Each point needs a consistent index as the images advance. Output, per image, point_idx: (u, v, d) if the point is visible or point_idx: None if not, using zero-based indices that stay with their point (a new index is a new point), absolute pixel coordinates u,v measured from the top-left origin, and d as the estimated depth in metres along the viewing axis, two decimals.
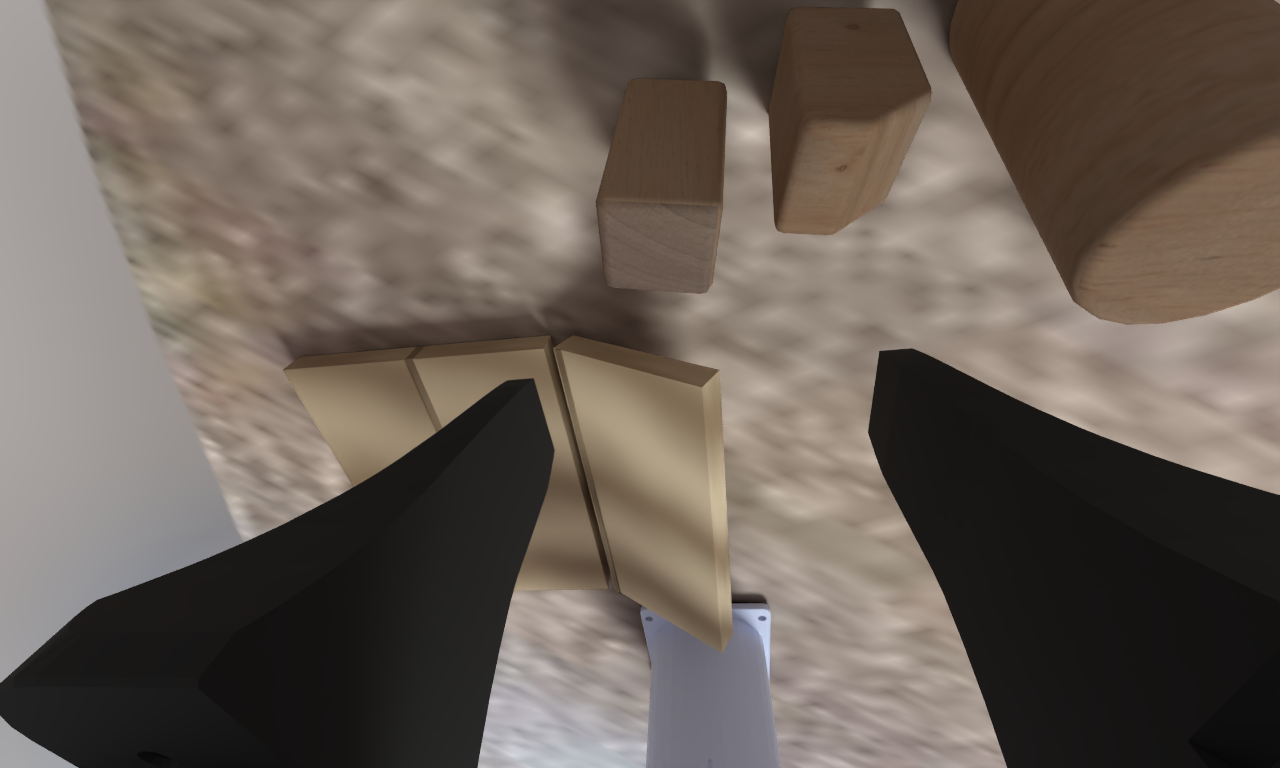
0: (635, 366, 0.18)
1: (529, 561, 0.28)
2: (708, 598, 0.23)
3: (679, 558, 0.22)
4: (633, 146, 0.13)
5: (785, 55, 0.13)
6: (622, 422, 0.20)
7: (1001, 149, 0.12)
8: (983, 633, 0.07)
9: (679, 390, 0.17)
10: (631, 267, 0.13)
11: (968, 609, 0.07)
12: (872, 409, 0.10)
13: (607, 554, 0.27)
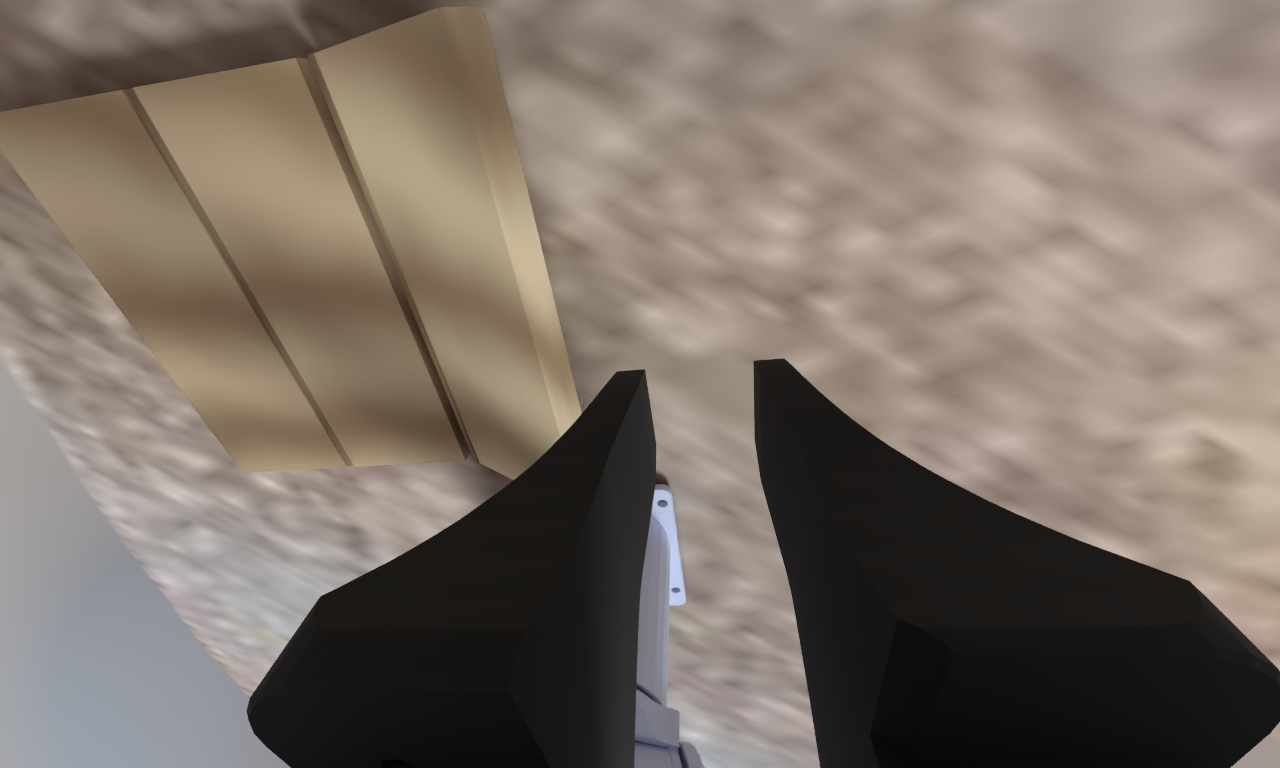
0: (381, 30, 0.13)
1: (362, 421, 0.22)
2: (548, 427, 0.17)
3: (508, 372, 0.17)
4: None
5: None
6: (397, 151, 0.14)
7: None
8: (805, 634, 0.07)
9: (423, 34, 0.11)
10: None
11: (800, 611, 0.08)
12: (754, 416, 0.10)
13: (451, 403, 0.21)
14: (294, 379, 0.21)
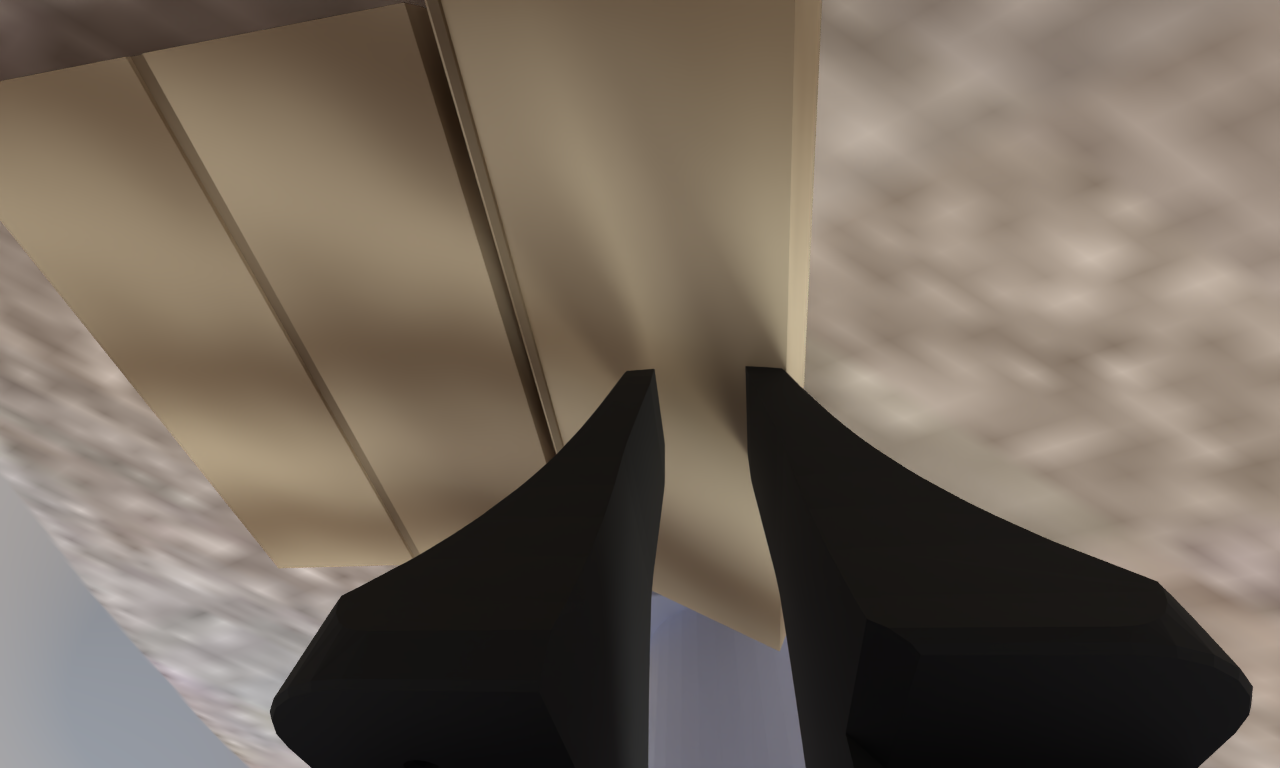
0: None
1: (444, 512, 0.17)
2: (761, 546, 0.12)
3: (705, 470, 0.12)
4: None
5: None
6: (580, 150, 0.09)
7: None
8: (791, 634, 0.07)
9: None
10: None
11: (787, 611, 0.08)
12: None
13: None
14: (357, 461, 0.16)
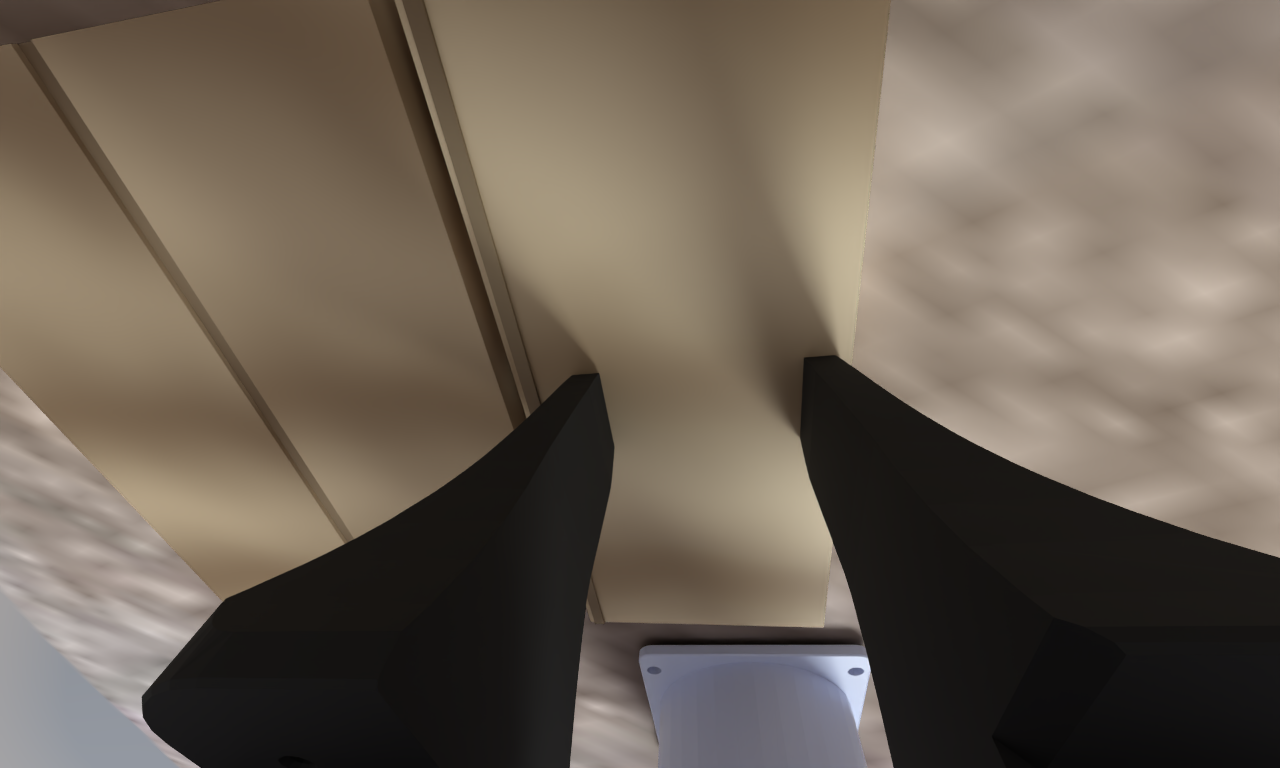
0: None
1: None
2: (812, 530, 0.12)
3: (755, 472, 0.11)
4: None
5: None
6: (624, 149, 0.08)
7: None
8: (875, 634, 0.07)
9: None
10: None
11: (866, 610, 0.07)
12: (801, 414, 0.10)
13: None
14: (326, 515, 0.14)
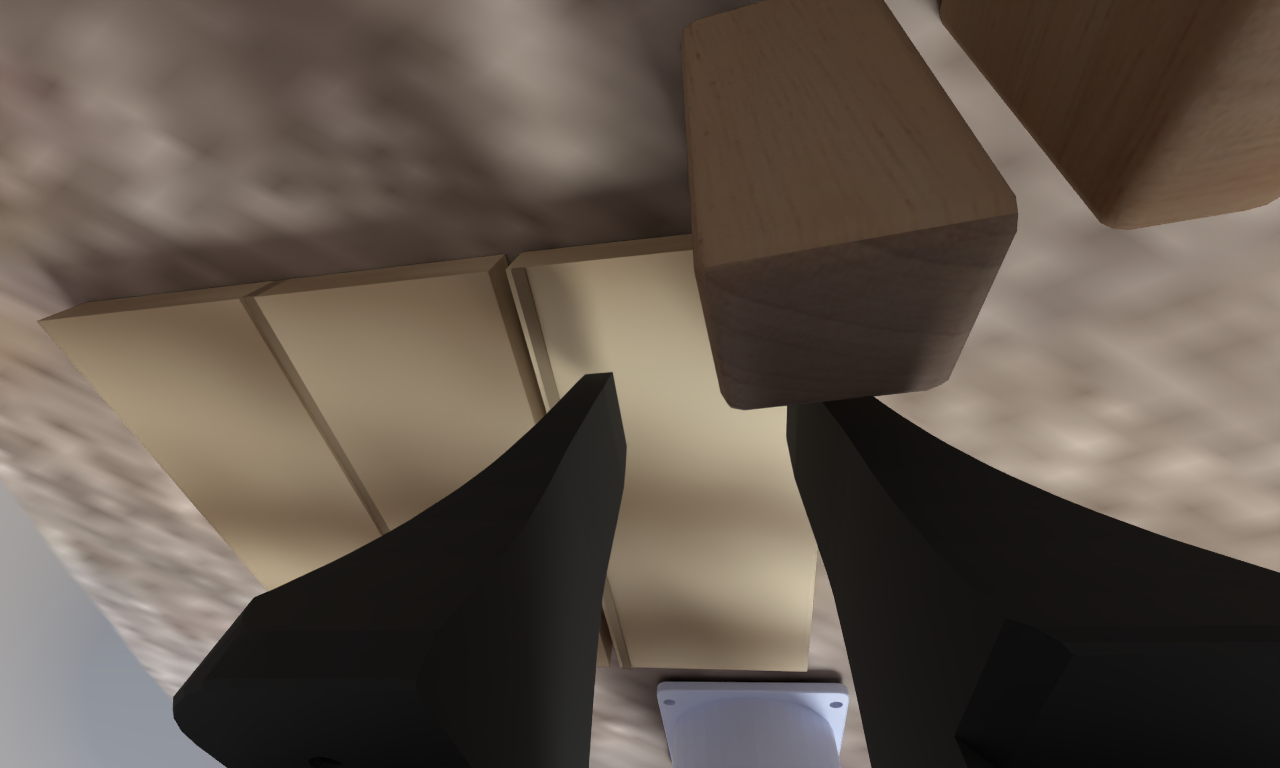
0: None
1: None
2: (796, 602, 0.16)
3: (752, 563, 0.15)
4: (738, 131, 0.06)
5: None
6: (661, 369, 0.12)
7: None
8: (854, 634, 0.07)
9: None
10: (782, 376, 0.06)
11: (846, 610, 0.07)
12: (787, 414, 0.10)
13: (611, 617, 0.17)
14: None
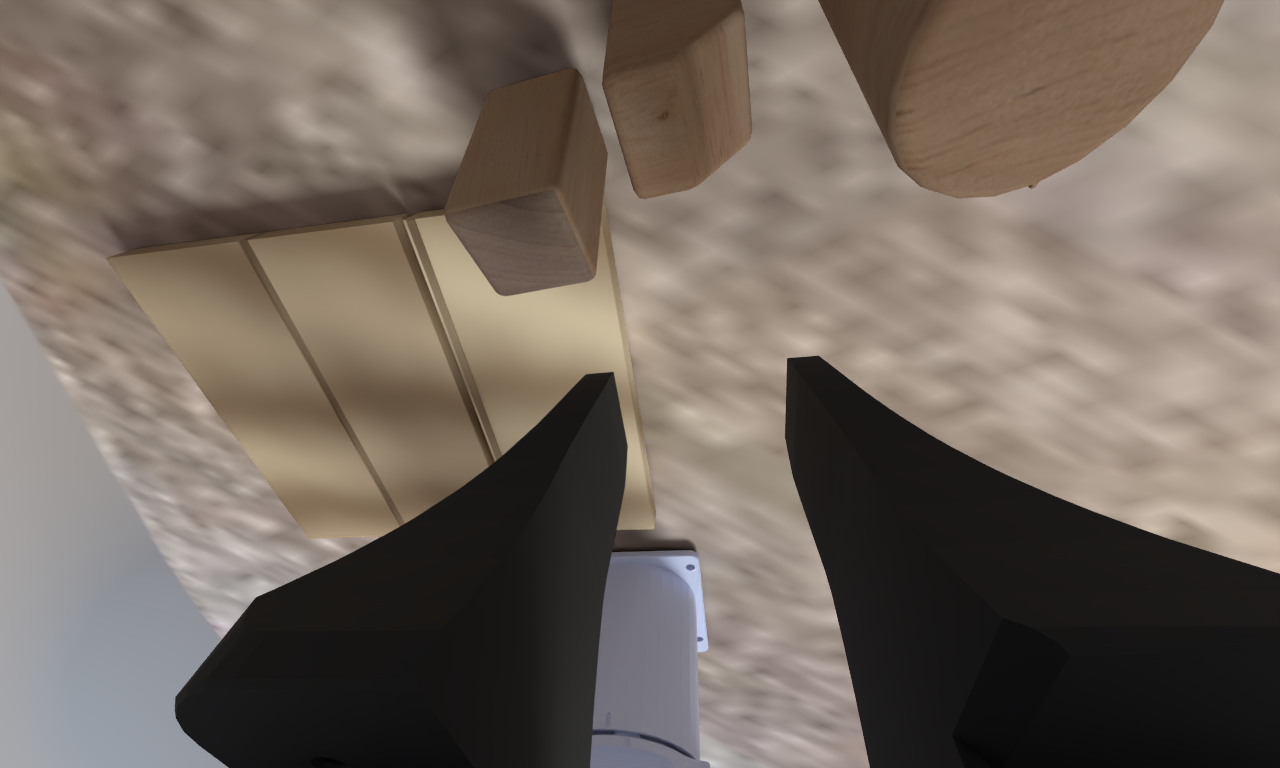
0: None
1: (423, 498, 0.25)
2: (632, 467, 0.22)
3: None
4: (480, 154, 0.13)
5: None
6: None
7: (840, 46, 0.10)
8: (852, 634, 0.07)
9: None
10: (508, 272, 0.13)
11: (845, 610, 0.07)
12: (786, 414, 0.10)
13: None
14: (364, 464, 0.24)
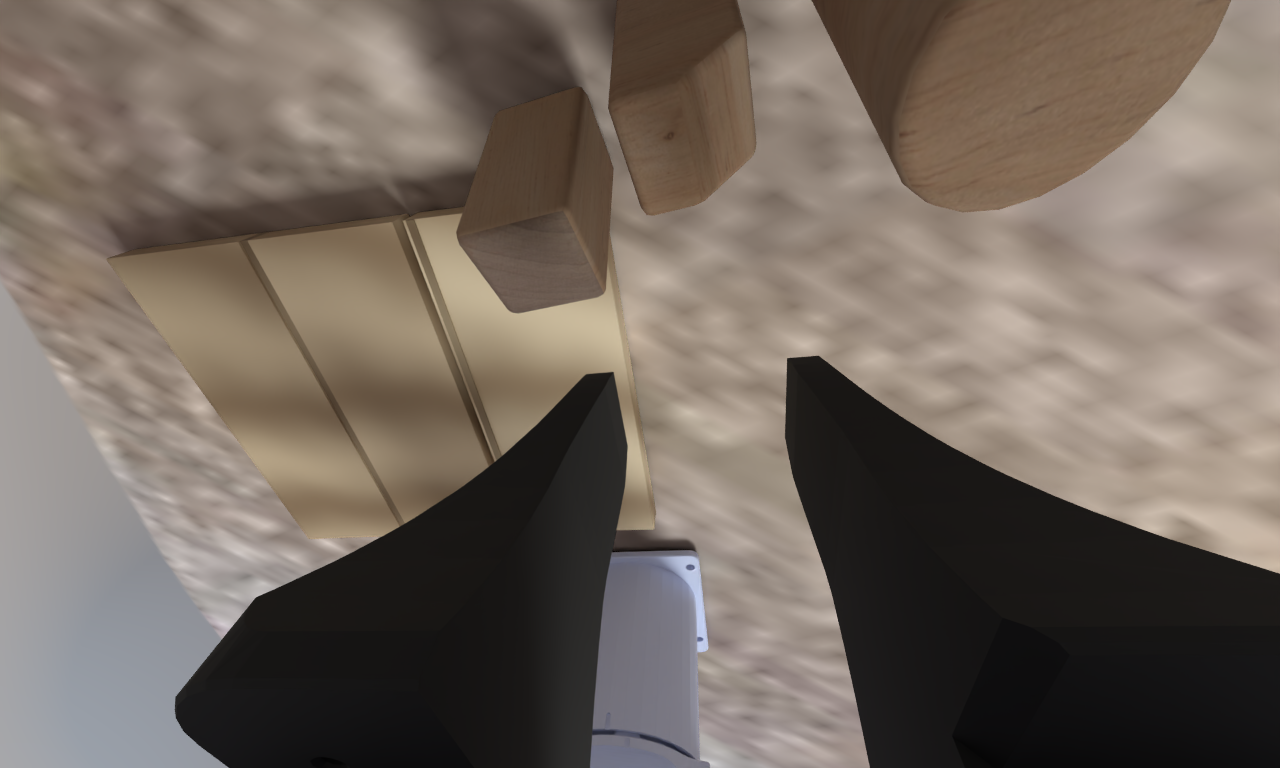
0: None
1: (423, 498, 0.25)
2: (632, 467, 0.22)
3: None
4: (489, 176, 0.13)
5: None
6: None
7: (842, 61, 0.11)
8: (853, 634, 0.07)
9: None
10: (520, 290, 0.13)
11: (845, 610, 0.07)
12: (786, 415, 0.10)
13: None
14: (364, 464, 0.24)
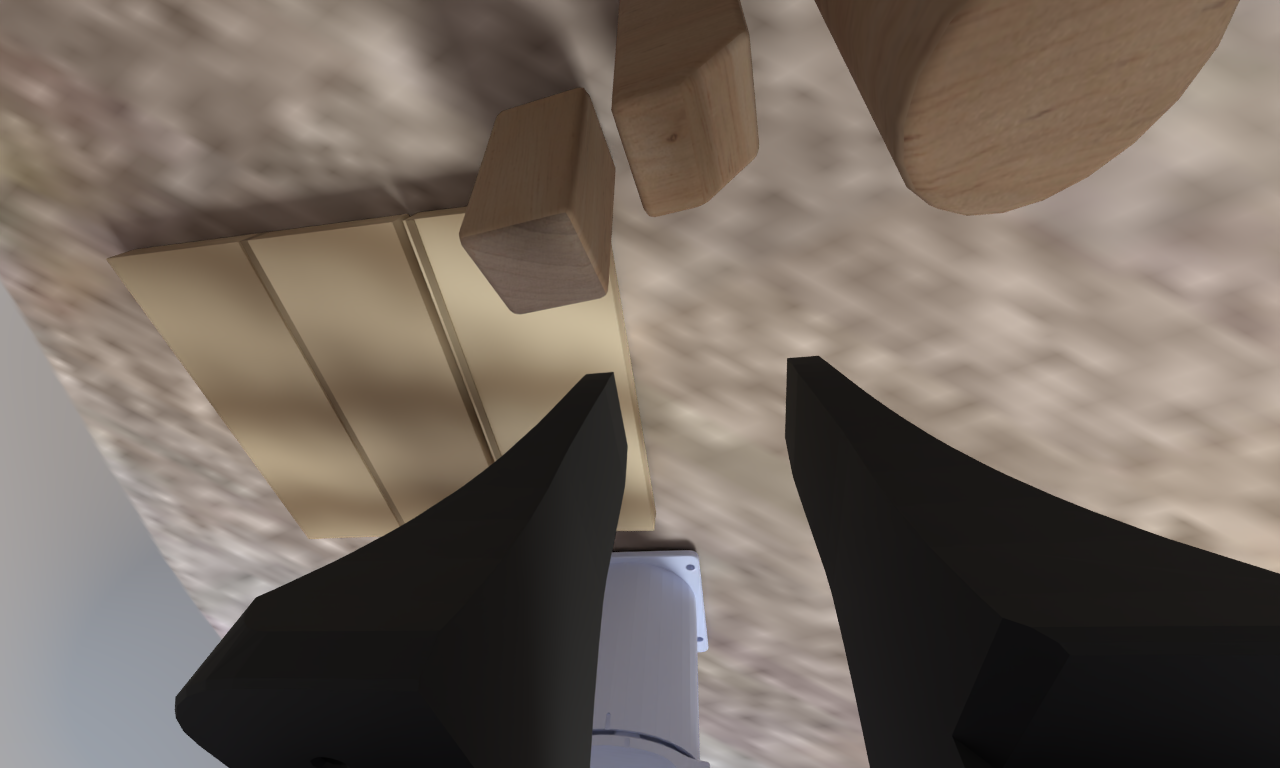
0: None
1: (423, 498, 0.25)
2: (632, 468, 0.22)
3: None
4: (491, 177, 0.13)
5: None
6: None
7: None
8: (853, 634, 0.07)
9: None
10: (522, 291, 0.13)
11: (845, 610, 0.07)
12: (786, 415, 0.10)
13: None
14: (364, 464, 0.24)
